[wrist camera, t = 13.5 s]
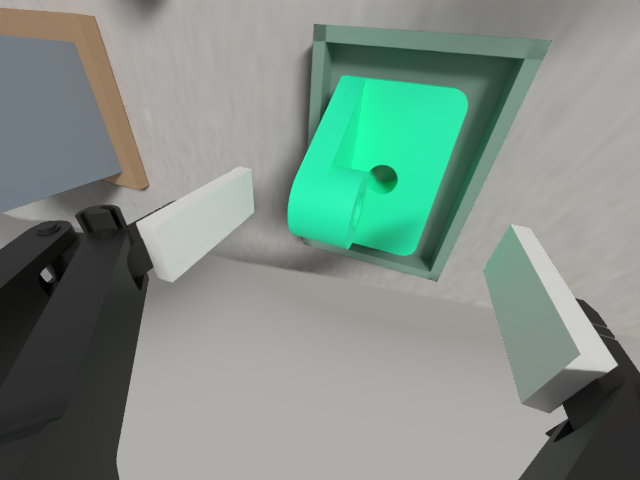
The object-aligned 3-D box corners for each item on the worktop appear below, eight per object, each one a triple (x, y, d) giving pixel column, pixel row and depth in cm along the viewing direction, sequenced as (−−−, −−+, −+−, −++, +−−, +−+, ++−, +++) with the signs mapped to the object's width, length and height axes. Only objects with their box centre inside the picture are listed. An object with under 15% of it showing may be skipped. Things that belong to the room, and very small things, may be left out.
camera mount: (413, 241, 23) (405, 334, 15) (333, 221, 25) (287, 295, 17) (468, 87, 16) (506, 108, 8) (351, 74, 18) (288, 80, 10)
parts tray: (311, 231, 27) (302, 243, 25) (327, 28, 18) (314, 24, 16) (436, 264, 24) (436, 281, 22) (535, 43, 15) (552, 40, 13)
